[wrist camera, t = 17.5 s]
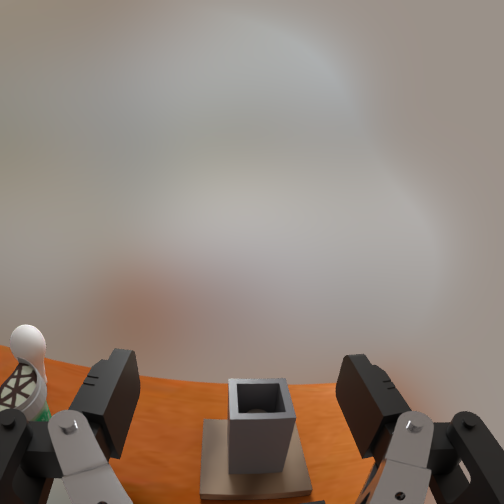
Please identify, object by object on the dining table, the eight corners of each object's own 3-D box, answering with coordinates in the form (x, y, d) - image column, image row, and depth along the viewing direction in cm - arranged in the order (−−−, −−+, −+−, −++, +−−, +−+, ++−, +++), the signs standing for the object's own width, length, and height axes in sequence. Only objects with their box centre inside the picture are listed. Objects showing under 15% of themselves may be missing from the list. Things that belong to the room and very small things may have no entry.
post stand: (200, 498, 24) (195, 460, 22) (204, 425, 36) (202, 380, 33) (309, 495, 25) (327, 456, 23) (292, 425, 37) (302, 380, 34)
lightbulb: (62, 391, 36) (43, 332, 33) (29, 401, 32) (6, 341, 29) (53, 370, 40) (37, 314, 37) (23, 379, 36) (4, 322, 33)
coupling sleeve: (228, 474, 27) (229, 419, 24) (227, 436, 33) (228, 378, 30) (282, 472, 27) (296, 417, 25) (275, 435, 33) (285, 378, 30)
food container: (53, 482, 21) (18, 429, 18) (13, 469, 20) (-23, 414, 17) (75, 416, 33) (56, 360, 30) (40, 408, 32) (19, 354, 29)
